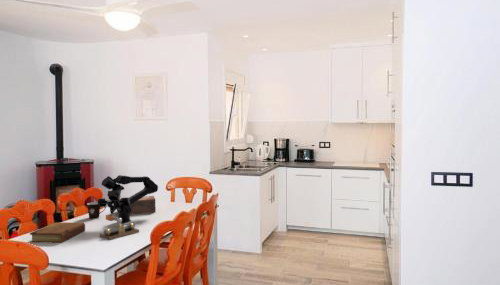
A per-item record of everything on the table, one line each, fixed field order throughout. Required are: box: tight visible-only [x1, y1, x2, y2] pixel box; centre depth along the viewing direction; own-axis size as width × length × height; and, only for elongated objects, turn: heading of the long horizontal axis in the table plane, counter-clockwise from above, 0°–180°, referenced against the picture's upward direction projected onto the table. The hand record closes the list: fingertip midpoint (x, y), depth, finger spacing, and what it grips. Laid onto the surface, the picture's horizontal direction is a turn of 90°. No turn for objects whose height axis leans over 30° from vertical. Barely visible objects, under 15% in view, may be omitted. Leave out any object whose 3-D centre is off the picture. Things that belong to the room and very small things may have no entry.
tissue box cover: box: [117, 195, 157, 216], centre depth 275 cm, size 26×14×10 cm, turn 109°
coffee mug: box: [86, 201, 107, 220], centre depth 258 cm, size 12×9×10 cm
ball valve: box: [99, 222, 140, 240], centre depth 216 cm, size 19×10×7 cm, turn 140°
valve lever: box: [105, 214, 122, 224], centre depth 220 cm, size 3×15×3 cm, turn 51°
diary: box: [29, 221, 86, 244], centre depth 214 cm, size 23×19×6 cm
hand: (111, 213), depth 229 cm, fingers closed
